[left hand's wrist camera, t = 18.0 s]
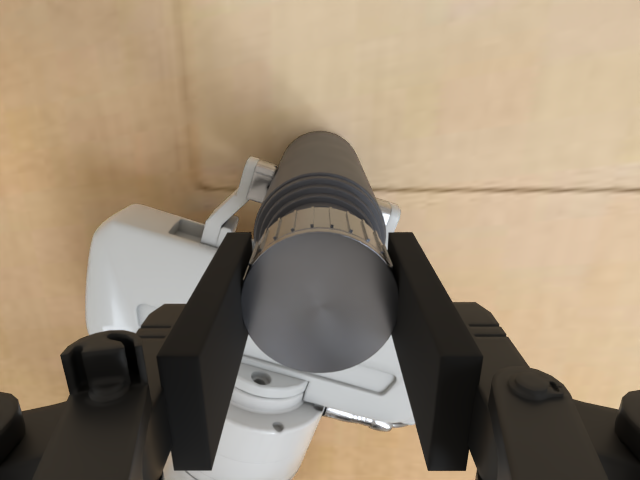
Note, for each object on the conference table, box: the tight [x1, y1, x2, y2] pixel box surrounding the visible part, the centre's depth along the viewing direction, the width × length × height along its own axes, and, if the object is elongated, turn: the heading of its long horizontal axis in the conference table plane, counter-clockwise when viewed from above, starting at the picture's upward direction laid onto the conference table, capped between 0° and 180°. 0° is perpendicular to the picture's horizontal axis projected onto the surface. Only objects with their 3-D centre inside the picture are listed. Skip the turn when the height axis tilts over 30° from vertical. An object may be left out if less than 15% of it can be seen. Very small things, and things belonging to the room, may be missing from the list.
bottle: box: [254, 131, 386, 244], centre depth 21 cm, size 5×5×17 cm
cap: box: [241, 206, 399, 373], centre depth 13 cm, size 4×4×2 cm
